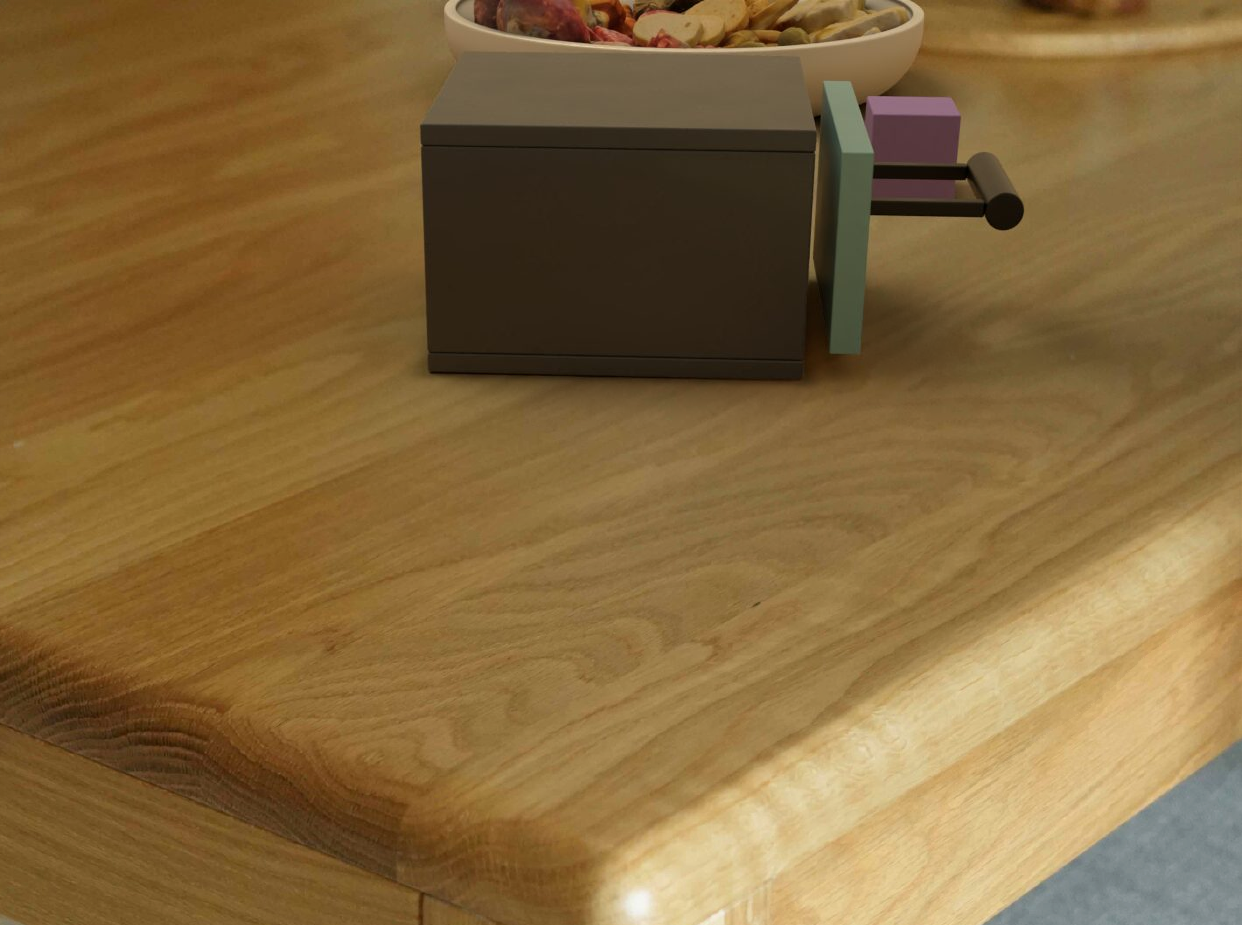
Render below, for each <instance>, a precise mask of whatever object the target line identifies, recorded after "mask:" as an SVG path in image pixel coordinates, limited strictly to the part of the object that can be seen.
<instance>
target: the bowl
mask: <svg viewBox="0 0 1242 925" xmlns="http://www.w3.org/2000/svg"><path fill="white" fill-rule="evenodd" d="M443 16H444V22H443V23H444V31H445V38H446V41H447V45H448V47H449V50H450V53H451V54H452V56H453V58H454V60H455V62H456V63H457V61H458V59H459V58H460V56H461V54H462V52H464V51H483V52H549V53H614V54H679V55H745V56H799V57H800V60H801V64H802V69H803V73H804V78H805V82H806V87H807V91H808V95H809V100H810V104H811V109H812V113H813V118H814V117H819V116H820V117H821V107H822V90H823V81H850V82H851V84H852V87H853V90H854V93H855V96H856V99H857V102H858V106H859V105H862V104H864V103H865V104H866V102H867V97H868V96H882V94H884V93H885V92H887V91H889V90H890V89H892V87H893V86H895V85H896V84H897V83H898V82H899V81H900V80H901V79H902V78H903V77H904V76H905V75H906V73H907V72H908V71H909V69H910V68H911V67H912V65H913V63H914V61H916V60H915V59H916V58H917V56H918V53H919V51H920V49H921V45H922V41H923V35H924V27H925V12H924V10H923V9H922V7H921V6H920V5H918V4H917V3H916V2H914V1H912V0H448V1H447V2H446V3H445V5H444V8H443Z"/></svg>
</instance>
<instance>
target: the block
mask: <svg viewBox="0 0 1242 925" xmlns="http://www.w3.org/2000/svg"><path fill="white" fill-rule="evenodd" d="M865 104H866V105H865V116H864V117H865V118H864V124H865V127H866V130H867V133H868V136H869V139H870V142H871V145H872V148H873V151H874V162H912V163H958V156H959V144H960V143H959V142H960V133H961V121H962V115H961V113H960V111H959V109H958V108H957V106H956V104H955V101H954V100H953V98H952V97H950V96H949V97H947V96H887V95H886V96H885V95H884V96H883V95H879V96H868V97H867V102H865ZM955 187H956V180H912V179H873V180H872V194H871V197H879V198H934V199H955Z"/></svg>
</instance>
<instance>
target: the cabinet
mask: <svg viewBox="0 0 1242 925" xmlns="http://www.w3.org/2000/svg"><path fill="white" fill-rule="evenodd" d="M419 134H420V136H419V138H420V145H421V147H420V159H421V161H420V162H421V163H420V165H421V167H420V168H421V196H422V199H421V200H422V223H423V225H422V230H423V255H424V256H423V257H424V259H423V260H424V288H425V289H424V290H425V318H426V319H425V320H426V321H425V322H426V350H427V370H428V372H430V373H468V374H469V373H471V374H506V375H507V374H508V375H509V374H511V375H512V374H514V375H552V376H553V375H556V376H560V375H561V376H596V377H597V376H599V377H600V376H601V377H643V378H645V377H647V378H686V379H687V378H688V379H689V378H690V379H691V378H693V379H730V380H732V379H734V380H735V379H736V380H772V381H773V380H774V381H775V380H776V381H777V380H780V381H802V380H803V379H804V366H805V364H804V359H805V346H806V345H805V344H806V330H807V329H806V327H807V309H808V296H809V294H808V292H809V276H810V258H811V242H812V222H813V205H814V204H813V203H814V187H815V171H816V150H817V137H818V131H817V128H816V122H815V118H814V117H813V113H812V109H811V104H810V100H809V95H808V91H807V87H806V82H805V78H804V73H803V69H802V64H801V60H800V57H799V56H745V55H679V54H614V53H549V52H483V51H464V52H462V54H461V56H460V58H459V59H458V61H457V62H456V63H455V64H454V66H453V68H452V69H451V71H450V73H449V75H448V76H447V78H446V80H445V81H444V83H443V85H442V87H441V88H440V90H439V92H438V94H437V95H436V96H435V98H434V100H433V102H432V104H431V106H430V108H428V111H427V112H426V114H425V116H424V117H423V119H422V121H421V123H420V125H419Z"/></svg>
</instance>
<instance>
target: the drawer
mask: <svg viewBox="0 0 1242 925" xmlns="http://www.w3.org/2000/svg"><path fill="white" fill-rule="evenodd" d="M819 126H820V128H819V144H818V160H817V162H818V163H817V176H816V177H817V178H816V193H815V194H816V195H815V211H814V227H813V228H814V229H813V246H812V247H813V249H812V261H813V267H814V272H815V279H816V286H817V290H818V295H819V302H820V308H821V312H822V314H821V315H822V319H823V325H824V331H825V336H826V342H827V348H828V353H829V354H830V355H861V350H862V349H861V348H862V333H863V321H864V308H865V307H864V304H865V292H866V278H867V264H868V250H869V234H870V222H871V216H874V217H875V216H882V217H885V216H886V217H930V218H931V217H934V218H935V217H936V218H985V220H986V222H987V223H988V225H989V226H990V227H991V228H993V229H994V230H997V231H1003V232H1004V231H1009V230H1012V229H1014V228H1015V227H1017V226H1018V225H1019V224H1020V223H1021V222H1022V220H1023V218H1024V215H1025V204H1024V202H1023V200H1022V199H1021V197H1020V195H1019V194H1018V192H1017V190H1016V188H1015V186H1014V185H1013V183H1012V181H1011V179H1010V177H1009V175H1008V174H1007V172H1006V171H1005V169H1004V167H1003V165H1002V163H1001V162H1000V160H999V158H998V157H997V156H996V155H995V154H994V153H991V152H988V151H981V152H976V153H975V154H973V155H972V156H971V157H969V159H968V160H967V162H966V163H964V162H962V163H961V162H960V163H959V162H957V163H912V162H874V151H873V148H872V145H871V142H870V139H869V136H868V133H867V130H866V127H865V120H864V118H863V115H862V112H861V109H860V106H859V105H858V102H857V99H856V96H855V93H854V90H853V87H852V84H851V82H850V81H823V90H822V107H821V115H820V125H819ZM873 179H912V180H955V181H966V182H968V185H969V187H970V189H971V191H972V193H973V196H974V197H975V198H954V199H934V198H879V197H871V194H872V180H873Z"/></svg>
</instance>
